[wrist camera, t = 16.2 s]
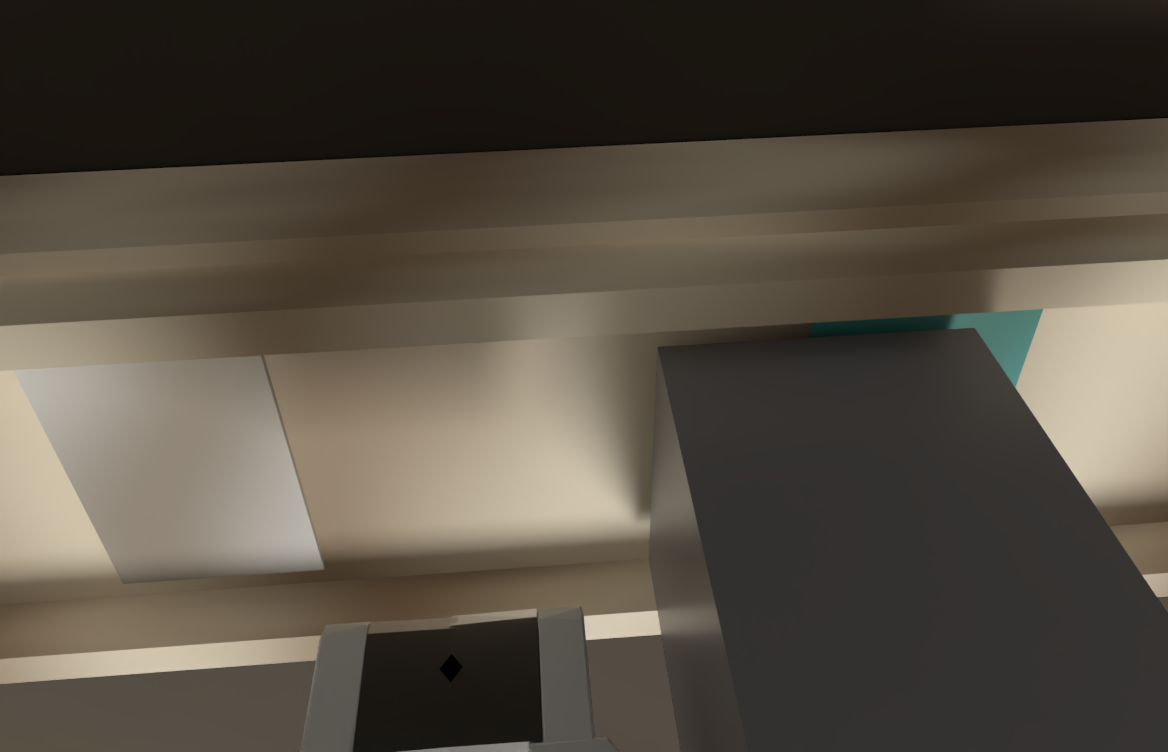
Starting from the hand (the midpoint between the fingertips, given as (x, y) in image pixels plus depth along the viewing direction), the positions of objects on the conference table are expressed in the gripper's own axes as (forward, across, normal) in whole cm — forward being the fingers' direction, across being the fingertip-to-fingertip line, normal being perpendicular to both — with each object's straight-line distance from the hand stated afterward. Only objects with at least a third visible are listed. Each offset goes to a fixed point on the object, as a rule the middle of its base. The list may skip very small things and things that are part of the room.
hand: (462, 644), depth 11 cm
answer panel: (+5, -6, 0) cm, 8 cm away
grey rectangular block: (+2, -4, 0) cm, 5 cm away
